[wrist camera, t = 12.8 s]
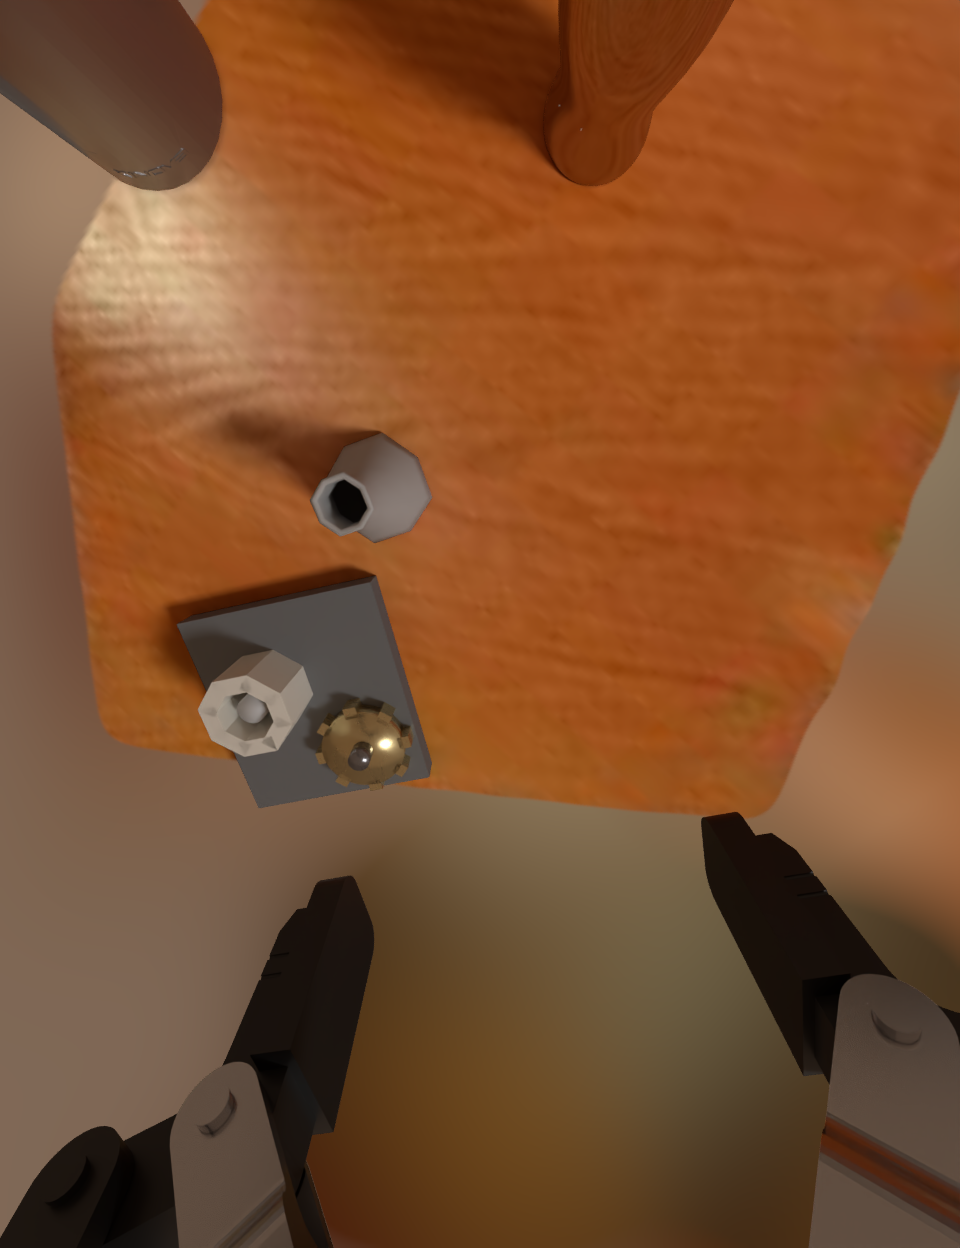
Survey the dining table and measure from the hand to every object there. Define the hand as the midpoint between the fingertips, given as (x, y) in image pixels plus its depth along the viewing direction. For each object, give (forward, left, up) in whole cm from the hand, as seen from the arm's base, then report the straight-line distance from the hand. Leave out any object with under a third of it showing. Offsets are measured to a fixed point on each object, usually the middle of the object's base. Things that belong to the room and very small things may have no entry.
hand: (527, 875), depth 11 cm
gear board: (+6, -16, -28) cm, 33 cm away
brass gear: (+10, -13, -26) cm, 31 cm away
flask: (-8, -7, -28) cm, 30 cm away
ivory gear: (+4, -19, -26) cm, 33 cm away
